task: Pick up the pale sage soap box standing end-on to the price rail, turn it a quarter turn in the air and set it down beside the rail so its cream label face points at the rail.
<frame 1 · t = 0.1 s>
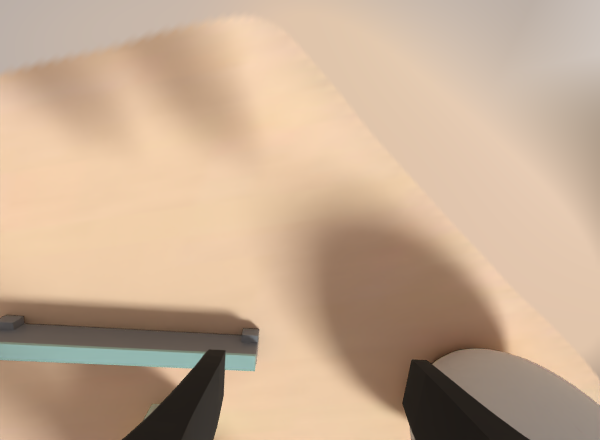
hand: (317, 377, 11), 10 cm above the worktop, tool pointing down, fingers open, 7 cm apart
price rail: (136, 336, 21), on the worktop
decorative egg: (459, 388, 24), on the worktop, touching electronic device
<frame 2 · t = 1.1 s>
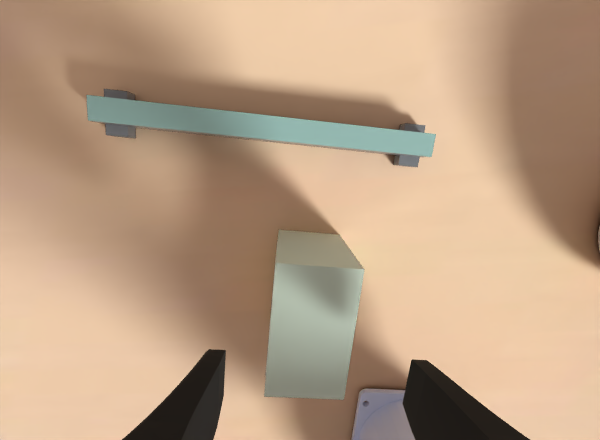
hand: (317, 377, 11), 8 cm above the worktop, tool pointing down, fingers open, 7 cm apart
price rail: (270, 131, 17), on the worktop
soap box: (303, 281, 19), on the worktop
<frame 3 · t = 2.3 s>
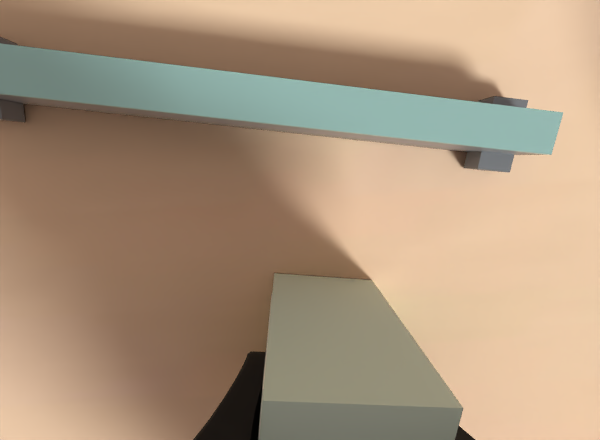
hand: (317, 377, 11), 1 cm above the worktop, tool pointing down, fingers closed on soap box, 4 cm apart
price rail: (259, 111, 10), on the worktop
soap box: (314, 352, 12), on the worktop, touching gripper
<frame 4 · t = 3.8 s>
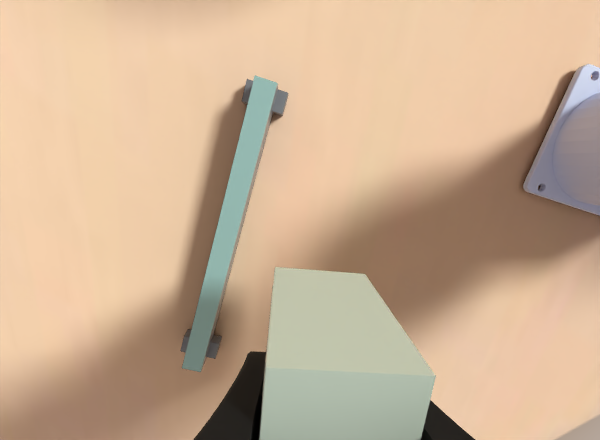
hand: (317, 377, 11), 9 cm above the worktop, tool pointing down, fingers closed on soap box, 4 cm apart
price rail: (231, 230, 18), on the worktop
soap box: (311, 340, 13), point 6 cm above the worktop, touching gripper
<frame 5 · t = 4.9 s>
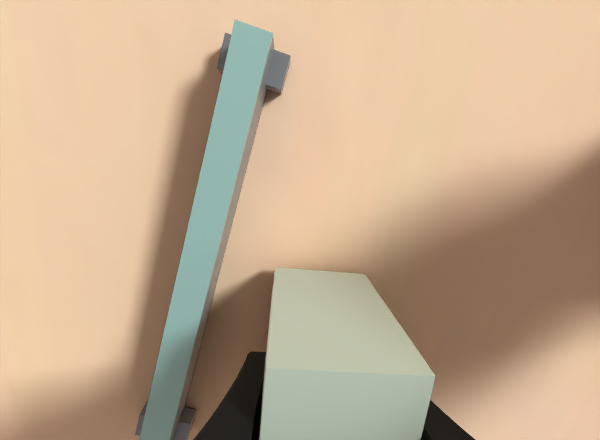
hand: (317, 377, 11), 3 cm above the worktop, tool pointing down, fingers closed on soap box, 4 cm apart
price rail: (207, 264, 13), on the worktop
soap box: (311, 340, 13), point 1 cm above the worktop, touching gripper
when the fingers open (3 cm above the worktop, at t = 5.3 s): soap box stays where it is, on the worktop.
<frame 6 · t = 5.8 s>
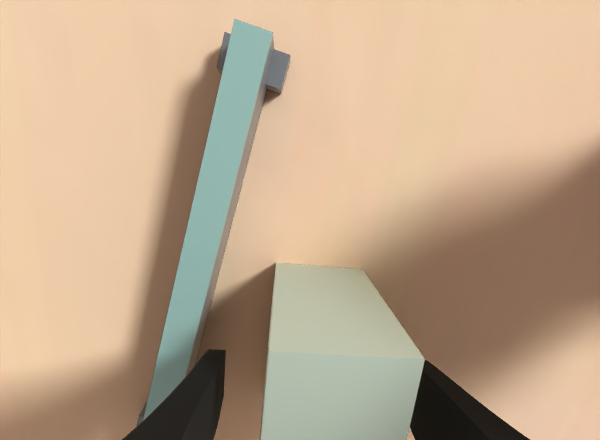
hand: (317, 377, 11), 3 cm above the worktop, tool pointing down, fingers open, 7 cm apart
price rail: (206, 264, 12), on the worktop
soap box: (311, 332, 14), on the worktop
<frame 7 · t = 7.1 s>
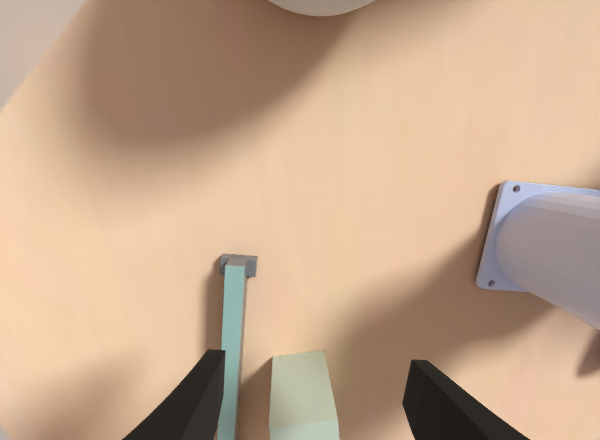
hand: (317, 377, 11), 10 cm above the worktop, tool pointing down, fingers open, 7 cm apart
price rail: (233, 365, 22), on the worktop
soap box: (302, 390, 23), on the worktop
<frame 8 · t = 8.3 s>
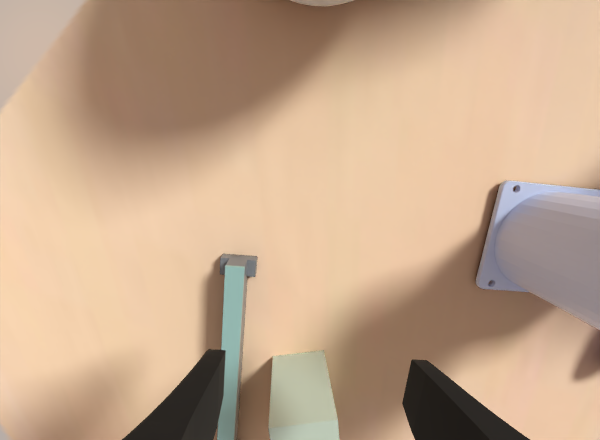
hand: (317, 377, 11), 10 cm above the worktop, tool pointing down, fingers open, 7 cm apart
price rail: (233, 365, 22), on the worktop
soap box: (302, 390, 23), on the worktop
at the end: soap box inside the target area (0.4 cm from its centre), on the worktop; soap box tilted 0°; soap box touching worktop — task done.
